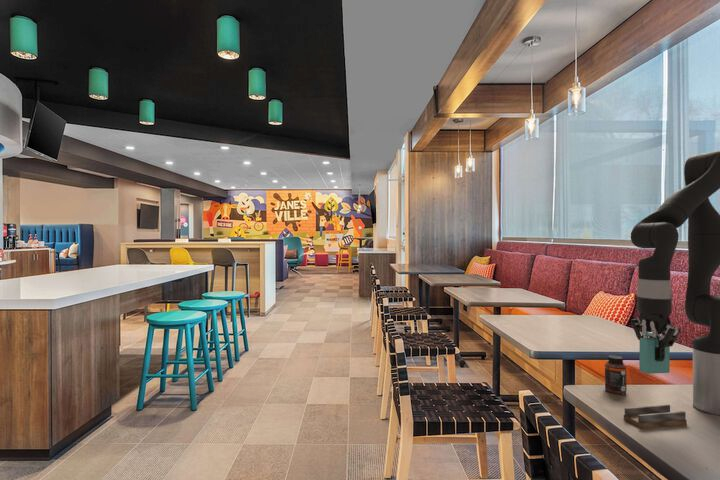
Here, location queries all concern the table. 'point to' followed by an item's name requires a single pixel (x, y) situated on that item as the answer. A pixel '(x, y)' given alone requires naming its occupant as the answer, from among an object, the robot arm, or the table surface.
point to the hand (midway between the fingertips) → (654, 359)
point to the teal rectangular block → (652, 358)
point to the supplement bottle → (615, 375)
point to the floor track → (654, 416)
